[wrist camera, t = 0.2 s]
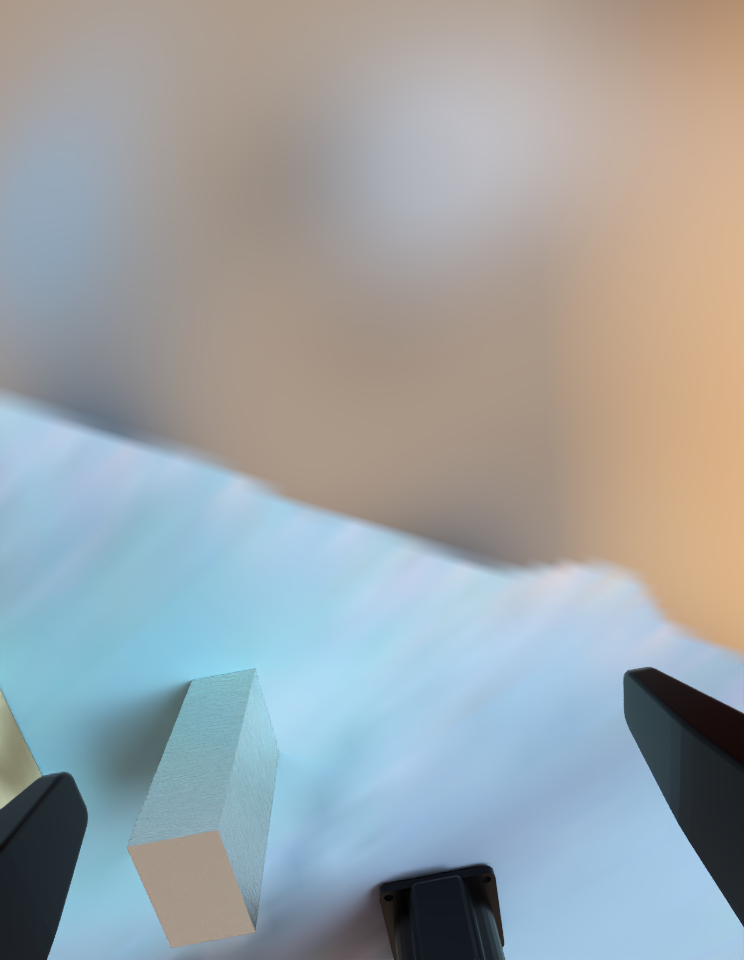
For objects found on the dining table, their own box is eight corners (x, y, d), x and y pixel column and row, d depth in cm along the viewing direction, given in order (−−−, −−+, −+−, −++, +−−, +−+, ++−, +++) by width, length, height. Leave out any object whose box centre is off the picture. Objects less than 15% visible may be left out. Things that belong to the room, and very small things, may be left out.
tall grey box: (279, 750, 26) (255, 932, 18) (219, 761, 26) (171, 948, 18) (255, 668, 24) (218, 830, 17) (192, 680, 24) (126, 847, 17)
